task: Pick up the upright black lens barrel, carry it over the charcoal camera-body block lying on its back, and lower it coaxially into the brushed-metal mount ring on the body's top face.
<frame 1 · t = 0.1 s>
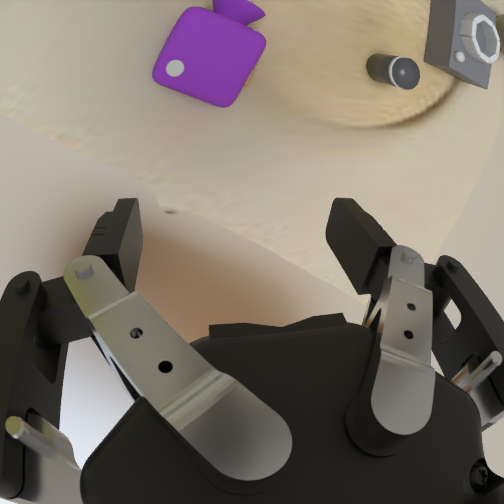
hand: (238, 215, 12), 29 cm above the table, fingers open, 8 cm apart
lens: (379, 67, 34), on the table
flower pot: (492, 31, 28), on the table
camera body: (450, 33, 29), on the table
toy camera: (211, 46, 30), on the table
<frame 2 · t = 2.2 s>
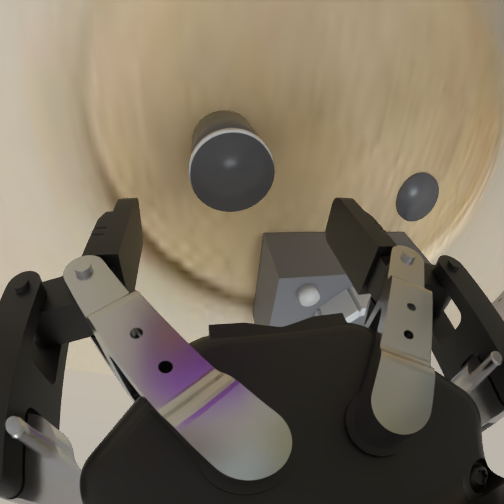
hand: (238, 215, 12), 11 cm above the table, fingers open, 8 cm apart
lens: (222, 139, 21), on the table
camera body: (329, 274, 31), on the table
grey dome: (415, 194, 27), on the table
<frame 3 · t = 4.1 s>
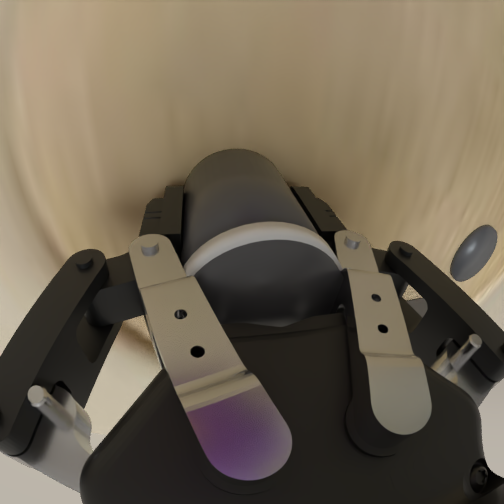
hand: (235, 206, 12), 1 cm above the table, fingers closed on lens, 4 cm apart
lens: (234, 196, 13), on the table, touching gripper
grey dome: (471, 250, 20), on the table
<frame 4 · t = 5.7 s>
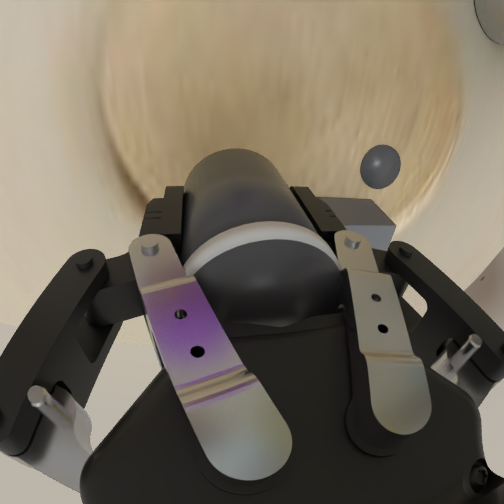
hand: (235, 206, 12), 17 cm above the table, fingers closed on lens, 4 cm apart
lens: (233, 196, 13), point 16 cm above the table, touching gripper
camera body: (305, 236, 36), on the table
grey dome: (378, 165, 32), on the table
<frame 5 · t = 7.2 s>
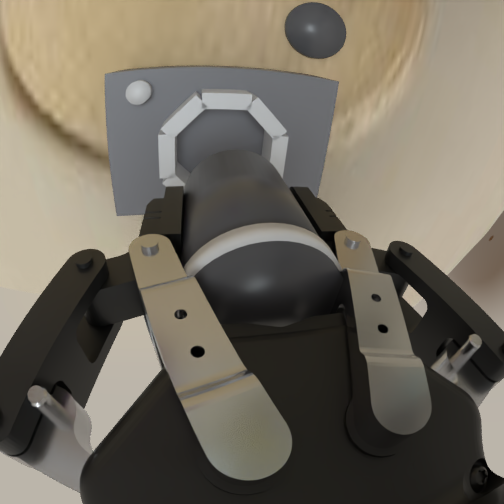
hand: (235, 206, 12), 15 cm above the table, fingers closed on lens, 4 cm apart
lens: (233, 197, 13), point 14 cm above the table, touching gripper
camera body: (215, 125, 24), on the table
grey dome: (314, 30, 20), on the table
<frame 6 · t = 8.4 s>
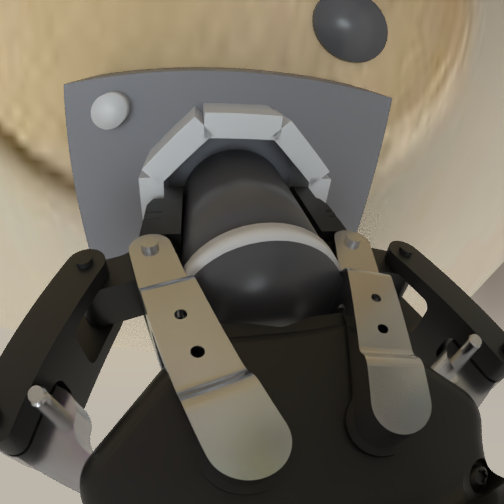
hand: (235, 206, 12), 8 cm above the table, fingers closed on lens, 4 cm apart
lens: (233, 197, 13), point 8 cm above the table, touching gripper
camera body: (220, 147, 19), on the table
grey dome: (348, 26, 15), on the table
when the fingers open (9 cm above the table, at t = 10.4 s): lens drops 2 cm, resting on camera body.
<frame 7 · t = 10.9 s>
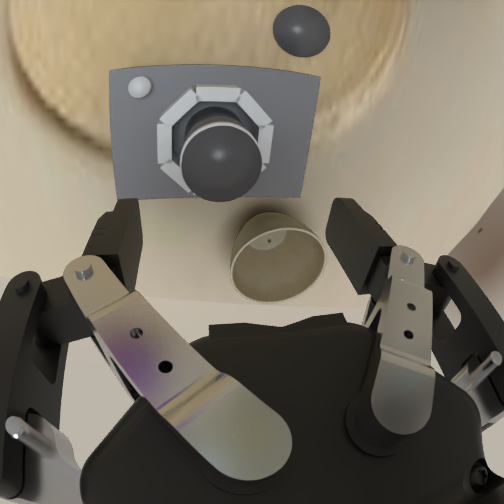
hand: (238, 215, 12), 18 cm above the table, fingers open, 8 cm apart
lens: (214, 134, 21), point 6 cm above the table, touching camera body
flower pot: (264, 229, 35), on the table
camera body: (208, 119, 26), on the table
grey dome: (300, 31, 22), on the table
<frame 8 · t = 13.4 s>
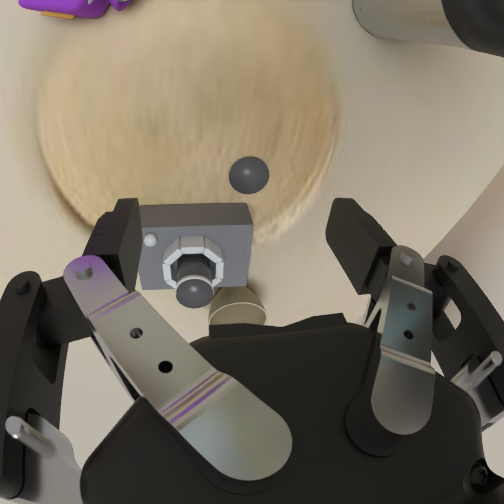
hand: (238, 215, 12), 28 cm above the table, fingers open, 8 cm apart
lens: (193, 259, 40), point 6 cm above the table, touching camera body
flower pot: (232, 291, 54), on the table
camera body: (192, 235, 45), on the table
grey dome: (248, 174, 41), on the table
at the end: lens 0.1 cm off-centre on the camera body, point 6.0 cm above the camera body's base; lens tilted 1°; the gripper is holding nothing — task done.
